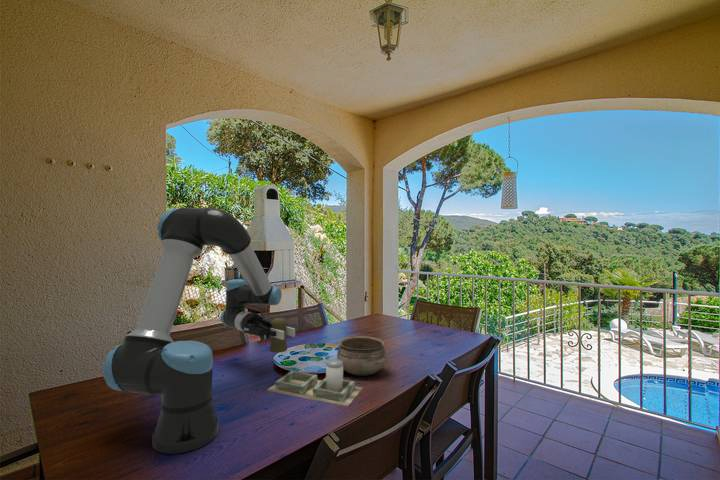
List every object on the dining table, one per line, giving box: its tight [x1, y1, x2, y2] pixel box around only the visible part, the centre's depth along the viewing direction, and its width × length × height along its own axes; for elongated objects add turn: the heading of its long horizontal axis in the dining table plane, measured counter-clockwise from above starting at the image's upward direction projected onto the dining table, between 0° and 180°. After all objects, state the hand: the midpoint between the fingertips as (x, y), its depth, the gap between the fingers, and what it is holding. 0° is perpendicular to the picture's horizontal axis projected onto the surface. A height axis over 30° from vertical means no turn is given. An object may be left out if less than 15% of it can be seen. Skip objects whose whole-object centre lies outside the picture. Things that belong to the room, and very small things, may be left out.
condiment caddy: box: [265, 370, 363, 408], centre depth 114 cm, size 14×29×4 cm, turn 70°
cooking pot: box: [336, 335, 388, 377], centre depth 131 cm, size 25×19×12 cm
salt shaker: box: [325, 358, 344, 392], centre depth 112 cm, size 6×6×10 cm
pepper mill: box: [269, 317, 288, 354], centre depth 120 cm, size 6×6×11 cm
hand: (288, 334), depth 116 cm, fingers closed on pepper mill, 4 cm apart
